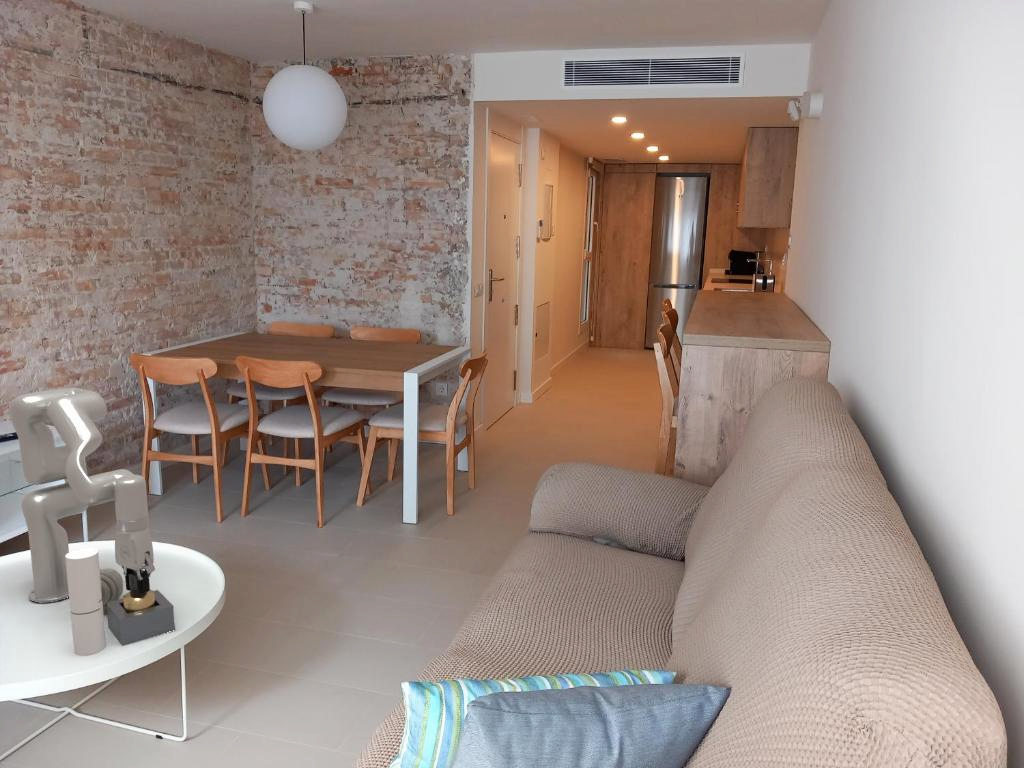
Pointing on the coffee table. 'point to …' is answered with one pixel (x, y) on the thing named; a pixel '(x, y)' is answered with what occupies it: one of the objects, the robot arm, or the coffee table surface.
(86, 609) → the cylindrical container
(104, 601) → the toy sheep
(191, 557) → the coffee table surface
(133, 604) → the stepped cylindrical shaft
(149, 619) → the block
